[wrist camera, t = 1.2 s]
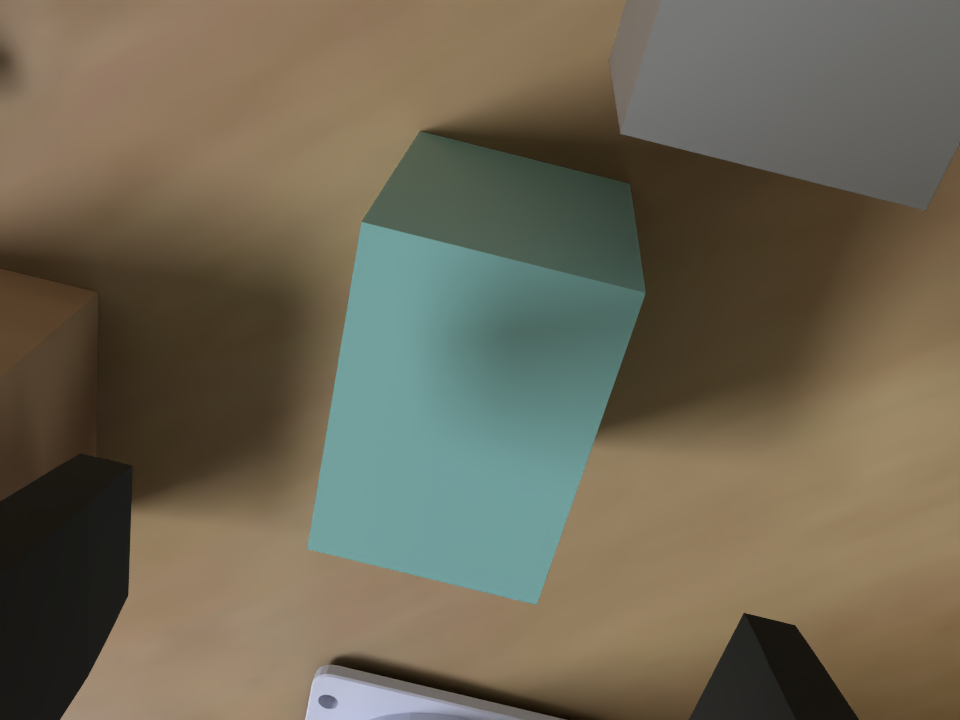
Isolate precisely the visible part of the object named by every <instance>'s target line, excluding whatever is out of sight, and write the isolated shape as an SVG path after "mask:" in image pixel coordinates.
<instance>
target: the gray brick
mask: <svg viewBox="0 0 960 720" xmlns="http://www.w3.org/2000/svg"><path fill="white" fill-rule="evenodd" d="M609 65H610V71H611V78H612V84H613V90H614V96H615V103H616V109H617V115H618V122H619V128H620V134H623V135H627V136H631V137H635V138H639V139H643V140H647V141H651V142H655V143H658V144H662V145H666V146H670V147H674V148H678V149H682V150H686V151H690V152H694V153H698V154H702V155H706V156H710V157H714V158H718V159H722V160H726V161H730V162H734V163H738V164H742V165H746V166H750V167H754V168H758V169H762V170H766V171H770V172H774V173H778V174H782V175H786V176H790V177H794V178H798V179H802V180H806V181H810V182H814V183H818V184H822V185H825V186H829V187H833V188H837V189H841V190H845V191H849V192H853V193H857V194H861V195H865V196H869V197H873V198H877V199H881V200H885V201H889V202H893V203H897V204H901V205H905V206H909V207H913V208H917V209H921V210H925V211H926V210H927V208H928V206H929V204H930V202H931V200H932V198H933V196H934V194H935V192H936V190H937V188H938V186H939V184H940V182H941V180H942V177H943V175H944V173H945V171H946V169H947V167H948V165H949V163H950V161H951V159H952V157H953V155H954V153H955V151H956V149H957V147H958V145H959V143H960V0H626V3H625V7H624V10H623V14H622V17H621V21H620V24H619V28H618V31H617V35H616V38H615V42H614V45H613V49H612V52H611V56H610V59H609Z"/></svg>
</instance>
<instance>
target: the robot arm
mask: <svg viewBox="0 0 960 720" xmlns="http://www.w3.org/2000/svg"><path fill="white" fill-rule="evenodd" d="M132 467H133V466H131V465H126V464H122V463H118V462H114V461H110V460H106V459H102V458H97V457H93V456H89V455H85V454H81V453H80V454H78V455H77V456H75V457H73V458H71V459H70V460H68V461H66V462H64V463H63V464H61V465H59V466H57V467H56V468H54V469H52V470H51V471H49V472H47V473H46V474H44V475H42V476H40V477H39V478H37V479H35V480H34V481H32V482H30V483H29V484H27V485H25V486H24V487H22V488H21V489H19V490H17V491H16V492H14V493H12V494H11V495H9V496H7V497H6V498H4V499H2V500H1V501H0V720H60V719H61V717H62V716H63V714H64V713H65V711H66V709H67V708H68V706H69V705H70V703H71V702H72V700H73V699H74V697H75V696H76V694H77V692H78V691H79V689H80V688H81V686H82V685H83V683H84V681H85V680H86V678H87V677H88V675H89V673H90V671H91V669H92V667H93V665H94V663H95V661H96V660H97V658H98V656H99V654H100V652H101V650H102V648H103V646H104V644H105V642H106V640H107V638H108V636H109V634H110V632H111V630H112V628H113V626H114V624H115V622H116V619H117V617H118V615H119V613H120V611H121V609H122V607H123V605H124V603H125V601H126V599H127V597H128V586H129V556H130V526H131V496H132ZM328 695H330V696H328ZM305 720H566V719H561V718H557V717H553V716H549V715H545V714H540V713H536V712H532V711H528V710H523V709H519V708H515V707H511V706H507V705H502V704H498V703H494V702H490V701H486V700H481V699H477V698H473V697H469V696H464V695H460V694H456V693H452V692H448V691H443V690H439V689H435V688H431V687H427V686H422V685H418V684H414V683H410V682H405V681H401V680H397V679H393V678H389V677H384V676H380V675H376V674H372V673H368V672H363V671H359V670H355V669H351V668H346V667H342V666H338V665H325V666H322V667H320V668H319V669H318V670H317V672H316V673H315V676H314V679H313V682H312V687H311V692H310V698H309V703H308V708H307V713H306V719H305ZM689 720H859V719H858V717H857V716H856V714H855V713H854V712H853V710H852V709H851V707H850V706H849V704H848V703H847V701H846V700H845V698H844V697H843V695H842V694H841V692H840V691H839V689H838V688H837V686H836V685H835V683H834V682H833V680H832V679H831V677H830V676H829V674H828V673H827V671H826V670H825V668H824V667H823V665H822V664H821V662H820V661H819V659H818V658H817V656H816V655H815V653H814V652H813V650H812V649H811V647H810V646H809V644H808V643H807V642H806V640H805V639H804V637H803V636H802V634H801V633H800V632H799V630H798V629H797V627H796V626H795V625H791V624H787V623H783V622H779V621H775V620H771V619H767V618H762V617H758V616H754V615H750V614H746V613H744V614H743V616H742V618H741V620H740V622H739V624H738V626H737V628H736V629H735V631H734V633H733V635H732V637H731V639H730V641H729V643H728V645H727V647H726V649H725V651H724V653H723V655H722V657H721V659H720V661H719V662H718V664H717V666H716V668H715V670H714V672H713V674H712V676H711V678H710V680H709V682H708V684H707V686H706V688H705V690H704V692H703V694H702V695H701V697H700V699H699V701H698V703H697V705H696V707H695V709H694V711H693V713H692V715H691V717H690V719H689Z"/></svg>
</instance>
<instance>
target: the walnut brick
mask: <svg viewBox="0 0 960 720" xmlns="http://www.w3.org/2000/svg"><path fill="white" fill-rule="evenodd" d="M98 295H99V292H95V291H91V290H86V289H82V288H78V287H74V286H70V285H66V284H62V283H58V282H54V281H50V280H46V279H42V278H37V277H33V276H29V275H25V274H21V273H17V272H13V271H9V270H5V269H1V268H0V501H1V500H2V499H4V498H6V497H7V496H9V495H11V494H12V493H14V492H16V491H17V490H19V489H21V488H22V487H24V486H25V485H27V484H29V483H30V482H32V481H34V480H35V479H37V478H39V477H40V476H42V475H44V474H46V473H47V472H49V471H51V470H52V469H54V468H56V467H57V466H59V465H61V464H63V463H64V462H66V461H68V460H70V459H71V458H73V457H75V456H77V455H78V454H80V453H81V454H85V455H89V456H93V457H97V391H98Z"/></svg>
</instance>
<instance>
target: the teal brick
mask: <svg viewBox="0 0 960 720" xmlns="http://www.w3.org/2000/svg"><path fill="white" fill-rule="evenodd" d="M645 294H646V290H645V283H644V276H643V269H642V263H641V256H640V249H639V242H638V235H637V228H636V221H635V214H634V208H633V201H632V194H631V187H630V184H629V183H625V182H621V181H617V180H613V179H609V178H605V177H601V176H597V175H594V174H590V173H586V172H582V171H578V170H574V169H570V168H566V167H562V166H558V165H554V164H550V163H546V162H542V161H538V160H534V159H530V158H526V157H522V156H518V155H514V154H510V153H506V152H502V151H498V150H494V149H490V148H486V147H482V146H478V145H474V144H470V143H466V142H462V141H458V140H454V139H450V138H446V137H442V136H438V135H434V134H430V133H426V132H422V131H420V132H419V133H418V135H417V136H416V138H415V140H414V141H413V143H412V144H411V146H410V147H409V149H408V150H407V152H406V154H405V155H404V157H403V158H402V160H401V161H400V163H399V164H398V166H397V168H396V169H395V171H394V172H393V174H392V175H391V177H390V178H389V180H388V182H387V183H386V185H385V186H384V188H383V189H382V191H381V192H380V194H379V196H378V197H377V199H376V200H375V202H374V203H373V205H372V206H371V208H370V210H369V211H368V213H367V214H366V216H365V217H364V219H363V220H362V222H361V228H360V234H359V240H358V246H357V252H356V258H355V264H354V270H353V276H352V282H351V288H350V294H349V300H348V306H347V312H346V318H345V325H344V331H343V337H342V343H341V349H340V355H339V361H338V367H337V373H336V379H335V385H334V391H333V397H332V403H331V409H330V415H329V421H328V427H327V433H326V439H325V445H324V451H323V457H322V463H321V469H320V475H319V481H318V487H317V493H316V499H315V505H314V511H313V517H312V523H311V529H310V535H309V541H308V547H307V549H309V550H313V551H317V552H321V553H326V554H330V555H334V556H338V557H342V558H346V559H350V560H354V561H358V562H363V563H367V564H371V565H375V566H379V567H383V568H387V569H391V570H395V571H400V572H404V573H408V574H412V575H416V576H420V577H424V578H428V579H432V580H436V581H441V582H445V583H449V584H453V585H457V586H461V587H465V588H469V589H473V590H478V591H482V592H486V593H490V594H494V595H498V596H502V597H506V598H510V599H515V600H519V601H523V602H527V603H531V604H535V605H537V603H538V600H539V597H540V594H541V591H542V588H543V586H544V583H545V580H546V577H547V574H548V571H549V568H550V566H551V563H552V560H553V557H554V554H555V551H556V548H557V546H558V543H559V540H560V537H561V534H562V531H563V528H564V526H565V523H566V520H567V517H568V514H569V511H570V508H571V506H572V503H573V500H574V497H575V494H576V491H577V488H578V486H579V483H580V480H581V477H582V474H583V471H584V468H585V466H586V463H587V460H588V457H589V454H590V451H591V448H592V446H593V443H594V440H595V437H596V434H597V431H598V428H599V426H600V423H601V420H602V417H603V414H604V411H605V408H606V406H607V403H608V400H609V397H610V394H611V391H612V388H613V386H614V383H615V380H616V377H617V374H618V371H619V368H620V366H621V363H622V360H623V357H624V354H625V351H626V348H627V346H628V343H629V340H630V337H631V334H632V331H633V328H634V326H635V323H636V320H637V317H638V314H639V311H640V308H641V306H642V303H643V300H644V297H645Z"/></svg>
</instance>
